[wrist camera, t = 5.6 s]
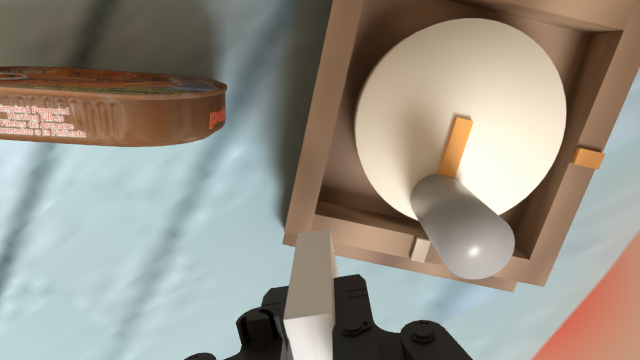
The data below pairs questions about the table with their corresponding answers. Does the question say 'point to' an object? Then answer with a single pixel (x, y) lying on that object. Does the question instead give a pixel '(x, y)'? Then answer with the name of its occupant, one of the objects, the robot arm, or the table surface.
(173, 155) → the table surface
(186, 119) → the tin
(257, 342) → the robot arm
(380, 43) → the wooden tray
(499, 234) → the dial
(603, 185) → the table surface
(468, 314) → the table surface
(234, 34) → the table surface
